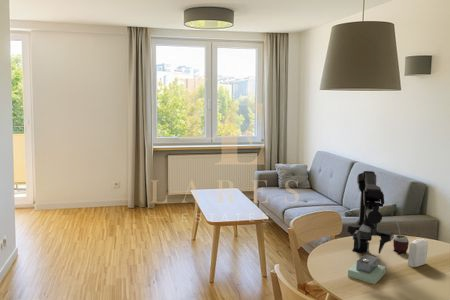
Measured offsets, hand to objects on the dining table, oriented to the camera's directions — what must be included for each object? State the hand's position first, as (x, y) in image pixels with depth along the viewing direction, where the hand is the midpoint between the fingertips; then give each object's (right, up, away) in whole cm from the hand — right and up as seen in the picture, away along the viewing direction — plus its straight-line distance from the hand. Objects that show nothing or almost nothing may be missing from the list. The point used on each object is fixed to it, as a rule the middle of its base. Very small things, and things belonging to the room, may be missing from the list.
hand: (368, 250), depth 192 cm
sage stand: (0, -11, +1) cm, 11 cm away
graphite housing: (0, -8, +1) cm, 8 cm away
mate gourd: (+25, -7, +29) cm, 39 cm away
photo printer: (+27, -10, +13) cm, 32 cm away
